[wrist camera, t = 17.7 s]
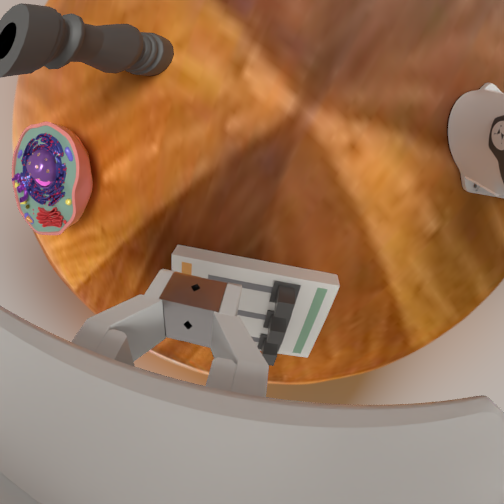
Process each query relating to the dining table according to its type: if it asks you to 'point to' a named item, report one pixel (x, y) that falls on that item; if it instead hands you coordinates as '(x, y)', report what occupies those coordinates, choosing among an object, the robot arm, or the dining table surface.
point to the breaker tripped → (275, 328)
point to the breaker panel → (266, 292)
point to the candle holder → (76, 44)
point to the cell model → (51, 177)
